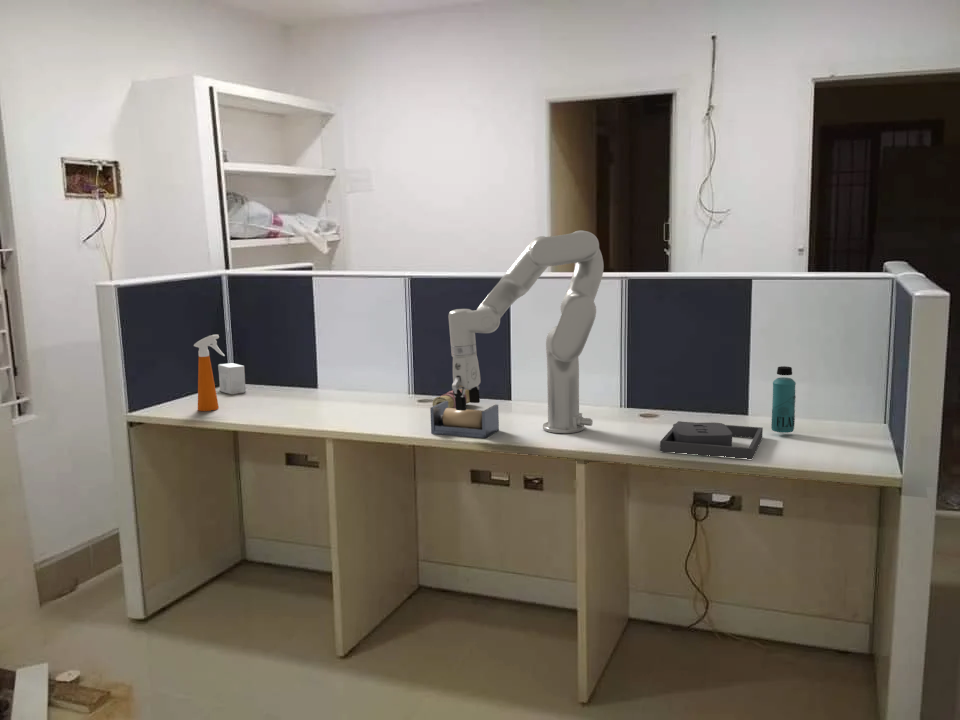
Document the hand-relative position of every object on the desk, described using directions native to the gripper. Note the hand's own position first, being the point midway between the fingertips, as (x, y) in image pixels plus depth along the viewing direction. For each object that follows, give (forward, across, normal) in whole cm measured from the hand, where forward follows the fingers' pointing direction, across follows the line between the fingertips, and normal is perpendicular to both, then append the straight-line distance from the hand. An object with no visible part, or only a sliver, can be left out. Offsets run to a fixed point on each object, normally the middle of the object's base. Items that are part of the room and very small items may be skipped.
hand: (468, 406), depth 261 cm
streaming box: (+12, +6, -68) cm, 69 cm away
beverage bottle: (+12, +25, -88) cm, 92 cm away
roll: (+7, 0, +1) cm, 7 cm away
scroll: (+8, +24, +17) cm, 31 cm away
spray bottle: (+4, 0, +99) cm, 99 cm away
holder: (+8, -1, +1) cm, 8 cm away
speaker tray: (+11, +8, -71) cm, 72 cm away
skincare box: (+4, +27, +113) cm, 117 cm away
